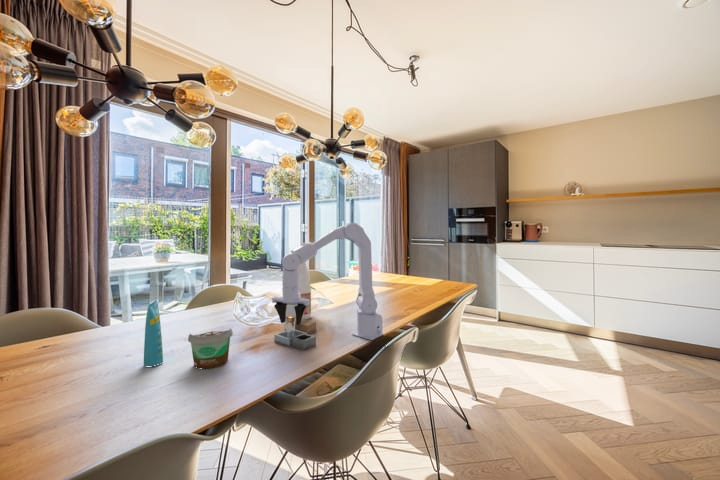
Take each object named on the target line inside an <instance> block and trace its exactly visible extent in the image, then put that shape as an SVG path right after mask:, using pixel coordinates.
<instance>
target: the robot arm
mask: <svg viewBox="0 0 720 480" xmlns="http://www.w3.org/2000/svg"><path fill="white" fill-rule="evenodd" d="M345 239H346V240H347V241H351V242H352V243H353V244H354V245H355V246H357V248H358V251H357V252H358V254H357V255H358V277H359V278H358V279H359V281H358V282H359V287H358V294H357V296H356V305H357V306H358V309H357V311H356V313H357V314H356V315H357V316H356V317H357V319H356V321H357V324H356V328H357V330H356V331H355V332H353V333H352V336H356V337H359V338H363V339H367V340H370V341H373V340H376V339H377V338H380V337H382V336H383V335H384V332H383V317H382V315H381V314H378V313H377V310H378V309H377V308H378V302H377V300H376V295H375V292H374V291H375V290H374V288H373V271H372V270H373V267H372V265H373V264H372V260H373V258H372V242H371V239H370V238H369V236H368V235H367V233H366V232H365V230H364V228H363V227H362V226H361V225H359V224H358V223H356V222H349V223H345V224H343V225H341V226H339V227H338V226H337V227H336V228H334V229H332V230H331V231H330V232H328V233H326V234H325V235H323V236H322V237H320V238H318V239H317V240H315V241H313V242H311V241H307V242H306V241H305V242H303V243H301V246H299V247H298V248H295V249H292V250H290V253H287V254H285V255H284V257H283V258H282V261H281V264H282V273H283V274H282V296H273V297H271V302H272V304H274V309H275V311H276V312H277V313H278V317H279V321H280V324H284V322H285V321H286V307H287V304H298V305H297V306H294V308H295V312H296V325H299V324H301V319H302V316H303V313H304V310H305V308H306V307H307V306H308V305H309V304H310V299H304V298H299V286H298V265H299V264H303V263H304V262H305V263H306V262H308V261H309V260H310V259H312V258H314V257H315V256H317V255H318V250H320V249H322V248H324V247H325V246H327V245H328V244H330V243H332V242H333V241H335V240H345Z"/></svg>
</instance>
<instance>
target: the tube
mask: <svg viewBox="0 0 720 480" xmlns="http://www.w3.org/2000/svg"><path fill="white" fill-rule="evenodd" d="M147 306H148V307H147V311H146V317H145V326H144V327H145V328H144V343H143V345H144V346H143V367H144V366H154V365H157V364H160V363H162V362H163V363H164V353H163V340H162V339H163V337H162V326H161V317H160V310H159V304H158V299H157V298H156V299H154V301H153V302H151V303H149V304H148V305H147ZM163 363H162V364H163ZM160 365H161V364H160Z"/></svg>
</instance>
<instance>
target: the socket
mask: <svg viewBox="0 0 720 480" xmlns="http://www.w3.org/2000/svg"><path fill="white" fill-rule="evenodd" d="M316 345H317V337H316V336H314V335H311V334H305V333H303V334H301V335H298V336H295V337H292V338H291V346H290V347H293V348H295V349H298V350H302V351H304V350H308V349H310V348H311V347H314V346H316Z"/></svg>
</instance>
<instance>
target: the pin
mask: <svg viewBox="0 0 720 480" xmlns="http://www.w3.org/2000/svg"><path fill="white" fill-rule="evenodd" d="M286 331H287V338H289V339H290V338H292V337H295V316H288V317H287V330H286Z"/></svg>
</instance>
